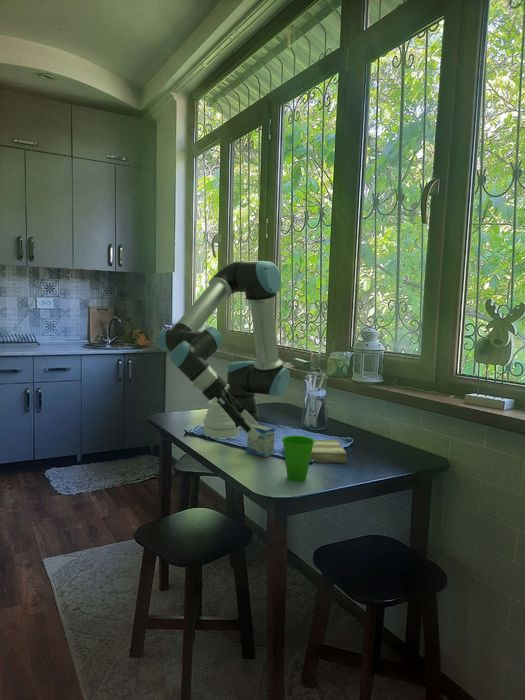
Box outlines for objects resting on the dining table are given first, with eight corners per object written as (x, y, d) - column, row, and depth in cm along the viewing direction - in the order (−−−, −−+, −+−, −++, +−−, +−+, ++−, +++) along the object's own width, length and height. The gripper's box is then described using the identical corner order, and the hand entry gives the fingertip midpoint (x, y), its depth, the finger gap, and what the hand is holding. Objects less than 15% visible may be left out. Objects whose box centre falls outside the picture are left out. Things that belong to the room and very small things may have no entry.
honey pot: (216, 427, 186) (217, 381, 184) (245, 433, 180) (247, 384, 178) (196, 435, 174) (197, 385, 172) (227, 441, 168) (228, 390, 167)
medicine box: (246, 451, 158) (247, 425, 157) (255, 449, 161) (256, 423, 160) (265, 457, 153) (266, 430, 152) (274, 454, 156) (275, 427, 155)
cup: (280, 483, 131) (281, 443, 130) (280, 472, 140) (282, 434, 139) (313, 485, 131) (315, 445, 130) (312, 473, 140) (313, 436, 139)
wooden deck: (283, 447, 163) (283, 439, 163) (336, 448, 164) (337, 440, 164) (287, 461, 149) (288, 452, 149) (345, 462, 150) (346, 453, 150)
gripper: (203, 384, 166) (246, 429, 168) (197, 399, 141) (247, 451, 143) (220, 369, 165) (262, 414, 168) (216, 382, 141) (266, 434, 143)
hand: (256, 431), depth 155 cm, fingers open, 13 cm apart
